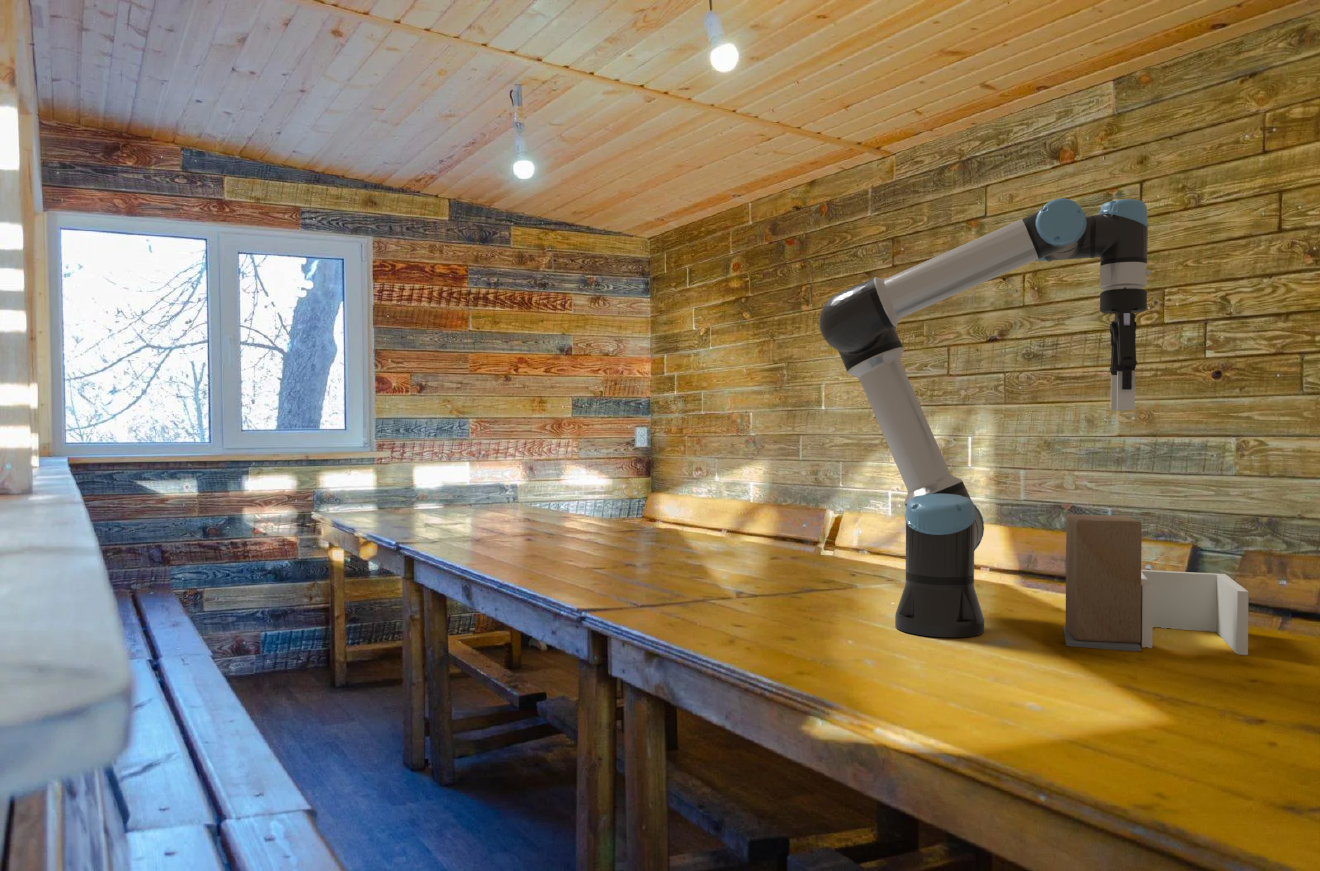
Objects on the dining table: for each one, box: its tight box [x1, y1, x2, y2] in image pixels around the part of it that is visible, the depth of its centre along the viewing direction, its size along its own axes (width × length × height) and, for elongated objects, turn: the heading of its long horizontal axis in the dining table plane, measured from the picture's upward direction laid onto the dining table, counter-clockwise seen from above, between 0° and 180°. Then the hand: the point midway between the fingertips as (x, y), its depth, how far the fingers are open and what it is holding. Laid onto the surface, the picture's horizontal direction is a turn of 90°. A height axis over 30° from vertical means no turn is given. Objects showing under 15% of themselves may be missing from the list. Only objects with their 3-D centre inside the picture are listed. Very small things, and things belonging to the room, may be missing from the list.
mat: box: [1062, 625, 1142, 652], centre depth 164 cm, size 11×14×1 cm
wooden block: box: [1064, 513, 1143, 644], centre depth 164 cm, size 10×10×20 cm
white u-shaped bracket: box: [1139, 569, 1249, 656], centre depth 166 cm, size 15×20×10 cm
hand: (1122, 410), depth 173 cm, fingers open, 13 cm apart
